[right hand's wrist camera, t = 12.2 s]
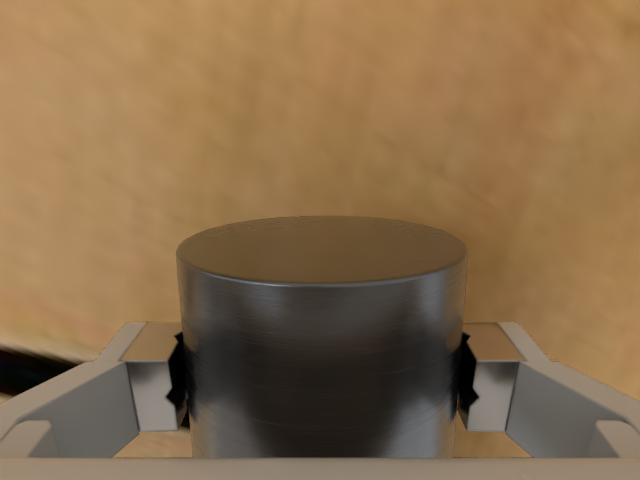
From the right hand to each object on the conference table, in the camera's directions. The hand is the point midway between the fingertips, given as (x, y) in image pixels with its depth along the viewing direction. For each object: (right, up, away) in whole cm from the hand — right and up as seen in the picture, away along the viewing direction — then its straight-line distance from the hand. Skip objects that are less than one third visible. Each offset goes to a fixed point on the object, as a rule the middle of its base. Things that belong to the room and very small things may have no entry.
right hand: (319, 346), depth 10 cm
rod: (0, -10, +5) cm, 11 cm away
